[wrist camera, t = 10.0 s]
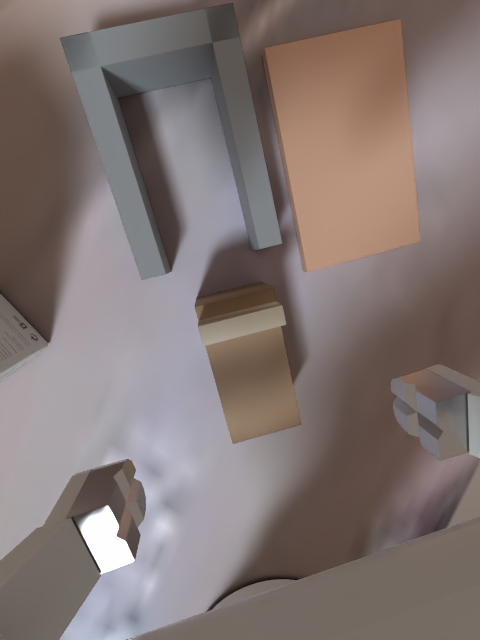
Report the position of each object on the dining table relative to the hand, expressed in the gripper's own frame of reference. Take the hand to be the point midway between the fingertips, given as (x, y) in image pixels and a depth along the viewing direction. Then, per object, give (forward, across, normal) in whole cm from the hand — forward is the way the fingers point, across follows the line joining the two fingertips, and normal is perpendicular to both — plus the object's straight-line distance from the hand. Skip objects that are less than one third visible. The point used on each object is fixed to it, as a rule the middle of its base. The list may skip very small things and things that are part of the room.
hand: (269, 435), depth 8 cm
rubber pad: (+14, -11, -10) cm, 20 cm away
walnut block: (+14, -1, +2) cm, 14 cm away
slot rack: (+14, 0, -10) cm, 17 cm away
